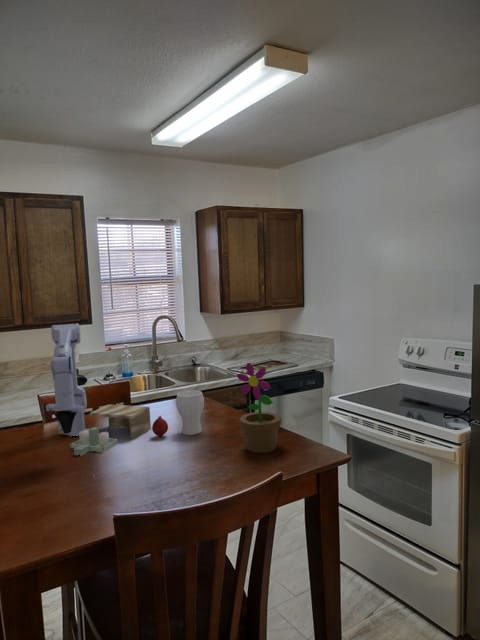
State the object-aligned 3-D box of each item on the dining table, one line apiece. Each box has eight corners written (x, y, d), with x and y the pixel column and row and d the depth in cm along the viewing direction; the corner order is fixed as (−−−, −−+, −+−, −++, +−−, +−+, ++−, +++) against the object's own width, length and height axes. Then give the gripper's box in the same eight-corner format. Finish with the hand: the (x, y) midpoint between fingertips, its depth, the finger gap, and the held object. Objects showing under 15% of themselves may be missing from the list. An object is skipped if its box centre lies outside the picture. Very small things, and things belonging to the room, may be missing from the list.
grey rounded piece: (78, 445, 164) (77, 433, 164) (83, 442, 168) (81, 430, 167) (87, 445, 164) (86, 433, 164) (91, 442, 167) (90, 430, 167)
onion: (160, 440, 167) (158, 419, 166) (149, 437, 170) (148, 417, 169) (171, 435, 171) (170, 415, 171) (161, 433, 175) (159, 412, 174)
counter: (91, 435, 176) (89, 413, 175) (110, 425, 187) (109, 404, 186) (133, 439, 169) (132, 416, 168) (150, 429, 180) (149, 406, 179)
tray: (61, 453, 158) (60, 435, 158) (87, 440, 171) (86, 423, 170) (94, 457, 153) (93, 438, 153) (118, 443, 166) (117, 426, 166)
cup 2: (204, 435, 170) (202, 396, 168) (175, 436, 170) (173, 397, 169) (206, 426, 180) (204, 389, 179) (180, 427, 180) (177, 390, 179)
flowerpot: (233, 451, 153) (228, 363, 150) (252, 437, 166) (248, 356, 163) (272, 457, 146) (268, 365, 143) (288, 442, 159) (285, 357, 156)
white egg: (97, 446, 162) (96, 434, 162) (103, 443, 165) (103, 431, 165) (104, 447, 161) (103, 435, 160) (111, 444, 164) (110, 432, 163)
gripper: (37, 394, 149) (41, 435, 150) (73, 396, 144) (77, 438, 145) (53, 389, 155) (56, 428, 157) (88, 391, 150) (91, 431, 152)
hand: (67, 432), depth 151 cm, fingers closed
